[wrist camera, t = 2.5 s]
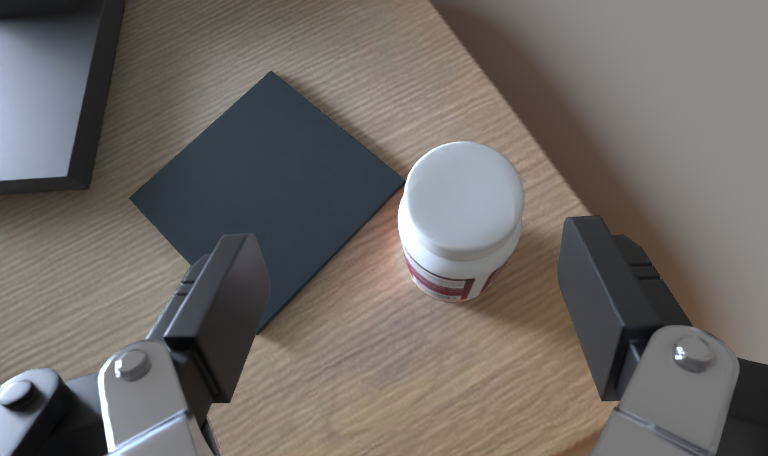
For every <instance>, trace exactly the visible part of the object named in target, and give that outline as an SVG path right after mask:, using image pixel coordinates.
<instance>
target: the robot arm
mask: <svg viewBox="0 0 768 456" xmlns="http://www.w3.org/2000/svg"><path fill="white" fill-rule="evenodd" d="M558 282H559V287H560V290H561V293H562V296H563V298H564V301H565V304H566V306H567V309H568V312H569V314H570V317H571V320H572V323H573V325H574V328H575V331H576V333H577V336H578V339H579V341H580V344H581V347H582V350H583V352H584V355H585V358H586V360H587V363H588V366H589V369H590V371H591V374H592V377H593V379H594V382H595V385H596V387H597V390H598V393H599V396H600V398H601V401H620V402H619V404H618V406H617V407H614V409H613V410H612V412H611V414H610V416H609V418H608V420H607V422H606V424H605V426H604V428H603V430H602V432H601V434H600V436H599V438H598V441H597V443H596V445H595V447H594V449H593V451H592V453H591V455H590V456H768V365H766V364H762V363H757V362H752V361H748V360H744V359H741V358H738V357H736V356H735V354H734V353H733V351H732V350H731V349H730V348H729V347H728V346H727V345H726V344H725V343H724V342H723V341H721V340H719V339H718V338H717V337H715V336H713V335H712V334H710V333H708V332H705V331H703V330H700V329H697V328H694V327H693V326H692V324H691V323H690V321H689V319H688V318H687V316H686V315H685V313H684V312H683V310H682V309H681V307H680V306H679V304H678V303H677V301H676V300H675V298H674V297H673V295H672V293H671V292H670V290H669V289H668V287H667V286H666V284H665V283H664V281H663V280H662V279H660V275H659V273H658V272H657V270H656V269H655V267H654V266H652V263H651V261H650V260H649V258H648V257H647V255H646V254H645V252H644V251H643V249H642V248H641V247H640V246H639V245H637V244H636V243H635V242H633V241H632V240H630V239H629V238H628V237H626V236H625V235H612V234H611V232H610V231H609V229H608V227H607V226H606V224H605V222H604V221H603V219H602V218H601V217H600V216H580V217H567V218H566V219H565V222H564V226H563V233H562V240H561V246H560V253H559V260H558ZM270 292H271V282H270V277H269V273H268V270H267V267H266V264H265V261H264V259H263V256H262V253H261V250H260V247H259V244H258V241H257V238H256V236H255V235H254V234H253V233H244V234H225V235H223V236H222V237H221V238H220V240H219V242H218V243H217V245H216V247H215V249H214V250H213V252H212V254H205V255H204V256H203V257H201V258H200V259H199V260H198V261H197V262H196V263H194V264H193V265H192V266H191V267H190V268H189V270H188V271H187V273H186V275H185V276H184V278H183V279H182V281H181V284H179V286H178V287H177V289H176V291H175V292H174V296H172V297H171V299H170V300H169V302H168V303H167V305H166V307H165V308H164V310H163V311H162V313H161V315H160V316H159V318H158V319H157V321H156V323H155V324H154V326H153V327H152V329H151V331H150V332H149V334H148V335H147V337H146V339H145V340H140V341H137V342H134V343H132V344H129V345H127V346H125V347H124V348H122V349H120V350H119V351H117V352H116V353H115V354H114V355H112V356H111V357H110V358H109V359H108V360H107V362H106V363H105V364H104V365H103V367H102V369H101V371H99V372H96V373H92V374H89V375H85V376H82V377H78V378H75V379H71V380H68V381H63V380H62V378H61V377H60V376H59V375H58V374H57V373H56V372H55V371H54V370H53V369H50V368H36V369H32V370H29V371H26V372H23V373H21V374H19V375H17V376H15V377H13V378H12V379H10V380H8V381H7V382H5V383H4V384H3V385H1V386H0V456H223V454H222V451H221V449H220V446H219V443H218V441H217V438H216V435H215V433H214V430H213V428H212V425H211V422H210V420H209V418H208V416H207V414H208V411H209V409H210V407H211V404H212V403H230V402H231V399H232V396H233V394H234V391H235V388H236V386H237V383H238V380H239V378H240V375H241V372H242V370H243V367H244V364H245V362H246V359H247V356H248V354H249V351H250V348H251V346H252V343H253V340H254V338H255V335H256V332H257V330H258V327H259V324H260V322H261V319H262V316H263V314H264V311H265V309H266V306H267V303H268V301H269V297H270Z"/></svg>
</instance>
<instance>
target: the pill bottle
mask: <svg viewBox="0 0 768 456" xmlns="http://www.w3.org/2000/svg"><path fill="white" fill-rule="evenodd" d="M523 208H524V189H523V184H522V181H521V179H520V176H519V174H518V172H517V170H516V169H515V167H514V166H513V165H512V163H511V162H510V161H509V160H508V159H507V158H506V157H505V156H503V155H502V154H501V153H499V152H498V151H496V150H494V149H493V148H491V147H489V146H486V145H483V144H479V143H474V142H453V143H448V144H444V145H441V146H439V147H437V148H435V149H433V150H431V151H429V152H428V153H427V154H425V155H424V156H423V157H422V158H420V160H419V161H418V162H417V163H416V164H415V165H414V167H413V168H412V170H411V171H410V173H409V176H408V178H407V181H406V184H405V189H404V196H403V198H402V200H401V203H400V207H399V211H398V228H399V233H400V237H401V242H402V247H403V251H404V256H405V260H406V264H407V268H408V271H409V273H410V276H411V277H412V279H413V281H414V282H415V283H416V285H417V286H418V287H419V288H420V289H421V290H422V291H423V292H425V293H426V294H428V295H429V296H431V297H433V298H435V299H438V300H441V301H446V302H461V301H466V300H469V299H472V298H475V297H477V296H478V295H480V294H481V293H483V292H484V291H485V290H486V289H487V288H488V287H489V286H490V285H491V284H492V283H493V281H494V280H495V278H496V277H497V275H498V274H499V272H500V270H501V269H502V267H503V266H504V265H505V263H506V262H507V260H508V259H509V258H510V256H511V254H512V253H513V251H514V249H515V248H516V245H517V243H518V241H519V238H520V234H521V226H522V216H521V214H522V211H523Z"/></svg>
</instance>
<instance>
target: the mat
mask: <svg viewBox="0 0 768 456" xmlns="http://www.w3.org/2000/svg"><path fill="white" fill-rule="evenodd" d="M405 183H406V182H405V179H403V178H402V177H401V176H400V175H399V174H397V173H396V172H395V171H394V170H392V169H391V168H390V167H389V166H387V165H386V164H385V163H384V162H383V161H381V160H380V159H379V158H378V157H376V156H375V155H374V154H373V153H372V152H370V151H369V150H368V149H367V148H365V147H364V146H363V145H362V144H360V143H359V142H358V141H357V140H356V139H354V138H353V137H352V136H351V135H349V134H348V133H347V132H346V131H344V130H343V129H342V128H341V127H340V126H338V125H337V124H336V123H335V122H333V121H332V120H331V119H330V118H329V117H327V116H326V115H325V114H324V113H322V112H321V111H320V110H319V109H317V108H316V107H315V106H314V105H313V104H311V103H310V102H309V101H308V100H306V99H305V98H304V97H303V96H302V95H300V94H299V93H298V92H297V91H295V90H294V89H293V88H292V87H290V86H289V85H288V84H287V83H286V82H284V81H283V80H282V79H281V78H279V77H278V76H277V75H276V74H275V73H273V72H272V71H270V72H269V73H268V74H267V75H266V76H264V77H263V78H262V79H261V80H260V81H259V82H258V83H257V84H255V85H254V86H253V87H252V88H251V89H250V90H249V91H248V92H247V93H245V94H244V95H243V96H242V97H241V98H240V99H239V100H238V101H237V102H235V103H234V104H233V105H232V106H231V107H230V108H229V109H228V110H227V111H225V112H224V113H223V114H222V115H221V116H220V117H219V118H218V119H217V120H215V121H214V122H213V123H212V124H211V125H210V126H209V127H208V128H206V129H205V130H204V131H203V132H202V133H201V134H200V135H199V136H198V137H196V138H195V139H194V140H193V141H192V142H191V143H190V144H189V145H188V146H186V147H185V148H184V149H183V150H182V151H181V152H180V153H179V154H178V155H176V156H175V157H174V158H173V159H172V160H171V161H170V162H169V163H168V164H166V165H165V166H164V167H163V168H162V169H161V170H160V171H159V172H157V173H156V174H155V175H154V176H153V177H152V178H151V179H150V180H149V181H147V182H146V183H145V184H144V185H143V186H142V187H141V188H140V189H139V190H137V191H136V192H135V193H134V194H133V195H132V196H131V197H130V198H129V199H130V200H131V201H132V202H133V203H134V204H135V205H136V206H137V207H138V209H139V210H140V211H141V212H142V213H143V214H144V215H145V216H146V217H147V218H148V219H149V220H150V222H151V223H152V224H153V225H154V226H155V227H156V228H157V229H158V230H159V231H160V232H161V233H162V234H163V236H164V237H165V238H166V239H167V240H168V241H169V242H170V243H171V244H172V245H173V246H174V247H175V249H176V250H177V251H178V252H179V253H180V254H181V255H182V256H183V257H184V258H185V259H186V260H187V261H188V263H189V264H190V265H191V266H192V265H193V264H194V263H196V262H197V261H198V260H199V259H200V258H201V257H203V256H204V255H205V254H212V252H213V250H214V249H215V247H216V245H217V243H218V242H219V240H220V238H221V237H222V236H223V235H225V234H244V233H253V234H254V235H255V236H256V238H257V241H258V244H259V247H260V250H261V253H262V256H263V259H264V261H265V264H266V267H267V270H268V273H269V277H270V282H271V292H270V297H269V301H268V303H267V306H266V309H265V311H264V314H263V316H262V319H261V322H260V324H259V327H258V330H257V332H256V335H258V334H259V333H260V332H261V331H262V330H263V329H264V328H265V327H266V326H267V325H268V324H269V323H270V322H271V321H272V320H273V319H274V318H275V317H276V316H277V315H278V314H279V313H280V312H281V311H282V310H283V309H284V307H285V306H286V305H287V304H288V303H289V302H290V301H291V300H292V299H293V298H294V297H295V296H296V295H297V294H298V293H299V292H300V291H301V290H302V289H303V288H304V287H305V286H306V285H307V284H308V283H309V282H310V281H311V280H312V279H313V278H314V277H315V276H316V275H317V274H318V273H319V272H320V271H321V269H322V268H323V267H324V266H325V265H326V264H327V263H328V262H329V261H330V260H331V259H332V258H333V257H334V256H335V255H336V254H337V253H338V252H339V251H340V250H341V249H342V248H343V247H344V246H345V245H346V244H347V243H348V242H349V241H350V240H351V239H352V238H353V237H354V236H355V235H356V234H357V233H358V231H359V230H360V229H361V228H362V227H363V226H364V225H365V224H366V223H367V222H368V221H369V220H370V219H371V218H372V217H373V216H374V215H375V214H376V213H377V212H378V211H379V210H380V209H381V208H382V207H383V206H384V205H385V204H386V203H387V202H388V201H389V200H390V199H391V198H392V197H393V196H394V195H395V193H396V192H397V191H398V190H399V189H400V188H401V187H402V186H403V185H404V184H405Z"/></svg>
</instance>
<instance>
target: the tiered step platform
mask: <svg viewBox="0 0 768 456" xmlns="http://www.w3.org/2000/svg"><path fill="white" fill-rule="evenodd" d="M125 1H126V0H0V195H3V194H18V193H33V192H48V191H63V190H78V189H89V187H90V181H91V176H92V171H93V166H94V161H95V156H96V150H97V145H98V140H99V135H100V130H101V125H102V119H103V114H104V109H105V104H106V99H107V94H108V88H109V83H110V78H111V73H112V68H113V63H114V57H115V52H116V47H117V42H118V37H119V32H120V26H121V21H122V16H123V11H124V6H125Z"/></svg>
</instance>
